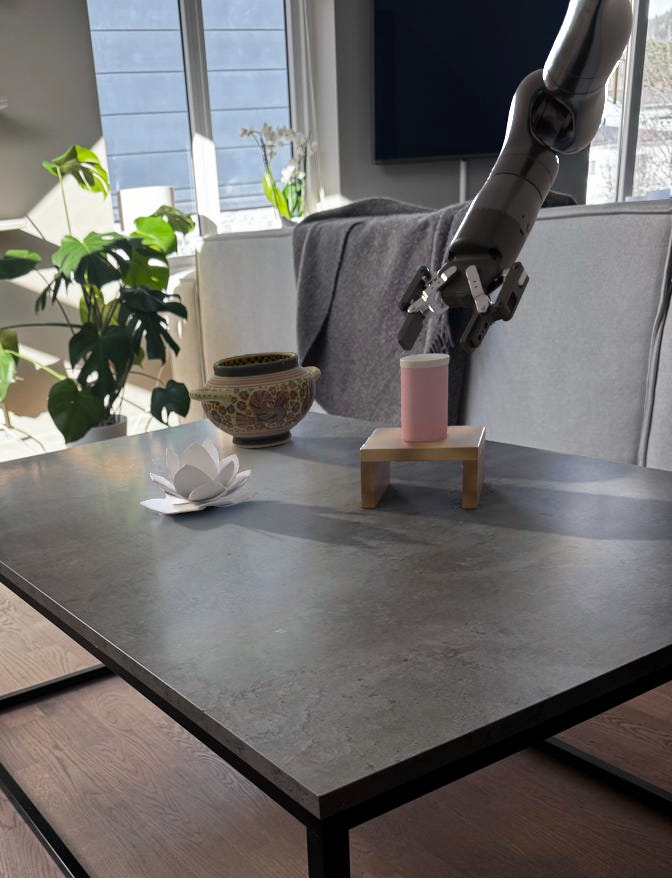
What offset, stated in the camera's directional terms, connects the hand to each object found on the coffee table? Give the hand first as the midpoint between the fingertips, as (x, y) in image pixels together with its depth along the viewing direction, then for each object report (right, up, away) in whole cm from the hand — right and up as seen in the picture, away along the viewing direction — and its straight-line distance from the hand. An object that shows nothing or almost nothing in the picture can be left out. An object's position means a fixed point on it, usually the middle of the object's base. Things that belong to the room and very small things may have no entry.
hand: (433, 347), depth 104 cm
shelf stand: (0, -16, +6) cm, 17 cm away
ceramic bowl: (-16, -2, +41) cm, 44 cm away
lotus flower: (-27, -17, +11) cm, 33 cm away
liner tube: (0, -10, +3) cm, 10 cm away
